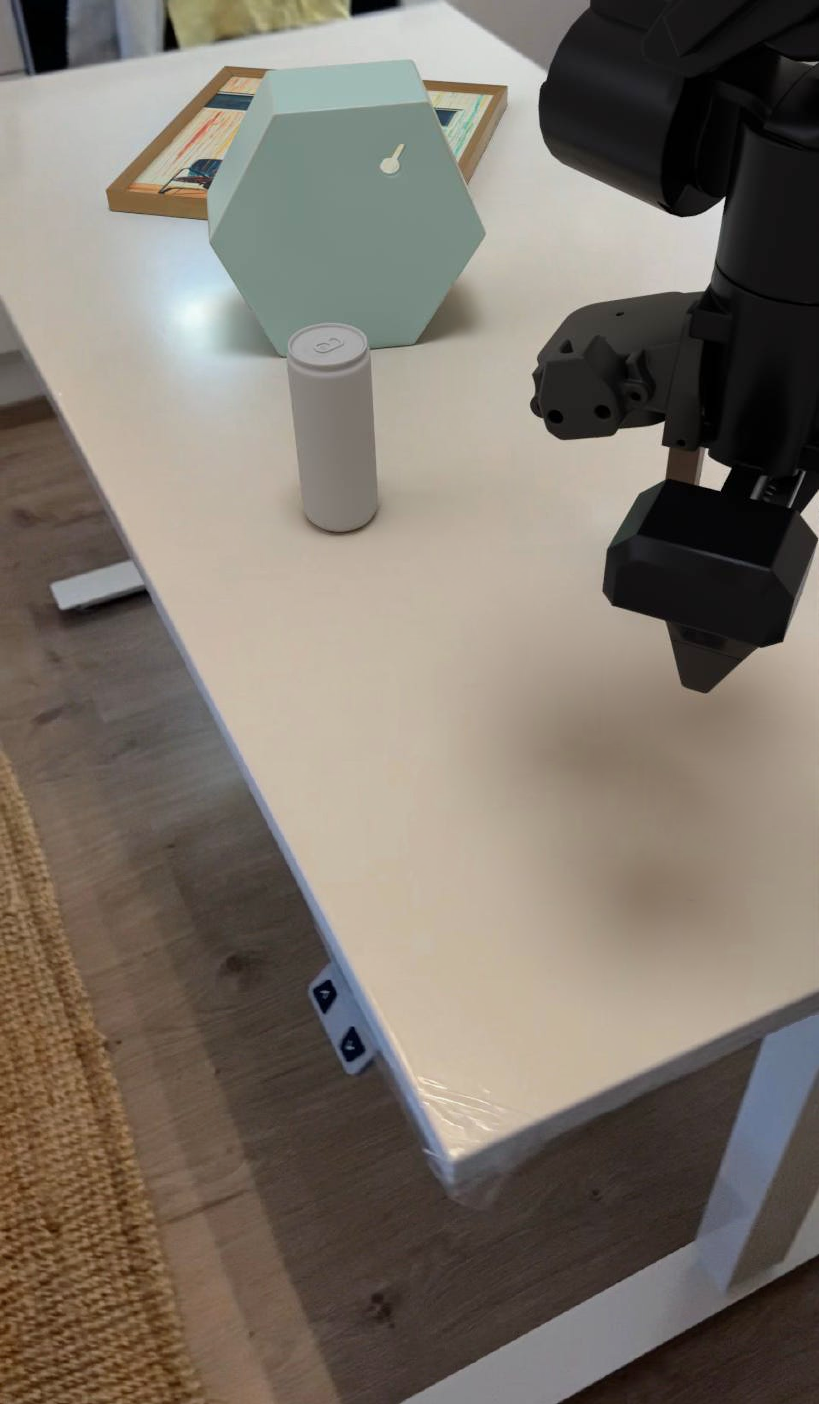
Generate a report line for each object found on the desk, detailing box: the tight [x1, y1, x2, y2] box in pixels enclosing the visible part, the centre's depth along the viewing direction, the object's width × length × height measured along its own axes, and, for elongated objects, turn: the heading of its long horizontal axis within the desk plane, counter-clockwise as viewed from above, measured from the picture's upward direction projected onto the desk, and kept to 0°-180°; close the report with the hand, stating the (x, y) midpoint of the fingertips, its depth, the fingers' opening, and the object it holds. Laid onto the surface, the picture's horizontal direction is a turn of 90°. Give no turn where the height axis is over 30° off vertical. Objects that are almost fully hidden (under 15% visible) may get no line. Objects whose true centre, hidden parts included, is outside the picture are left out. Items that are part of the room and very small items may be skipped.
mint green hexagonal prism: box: [206, 59, 487, 358], centre depth 86 cm, size 17×8×21 cm
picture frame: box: [105, 65, 509, 221], centre depth 113 cm, size 30×2×30 cm
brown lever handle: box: [664, 447, 707, 486], centre depth 65 cm, size 2×2×13 cm
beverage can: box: [286, 323, 379, 533], centre depth 72 cm, size 5×5×12 cm
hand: (727, 616), depth 50 cm, fingers open, 9 cm apart
